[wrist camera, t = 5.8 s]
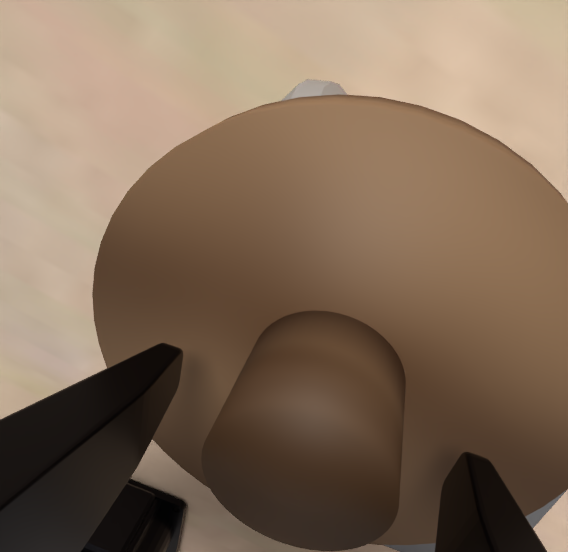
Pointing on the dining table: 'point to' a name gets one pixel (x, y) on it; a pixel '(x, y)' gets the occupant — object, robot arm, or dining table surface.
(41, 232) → the dining table surface
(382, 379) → the lid
